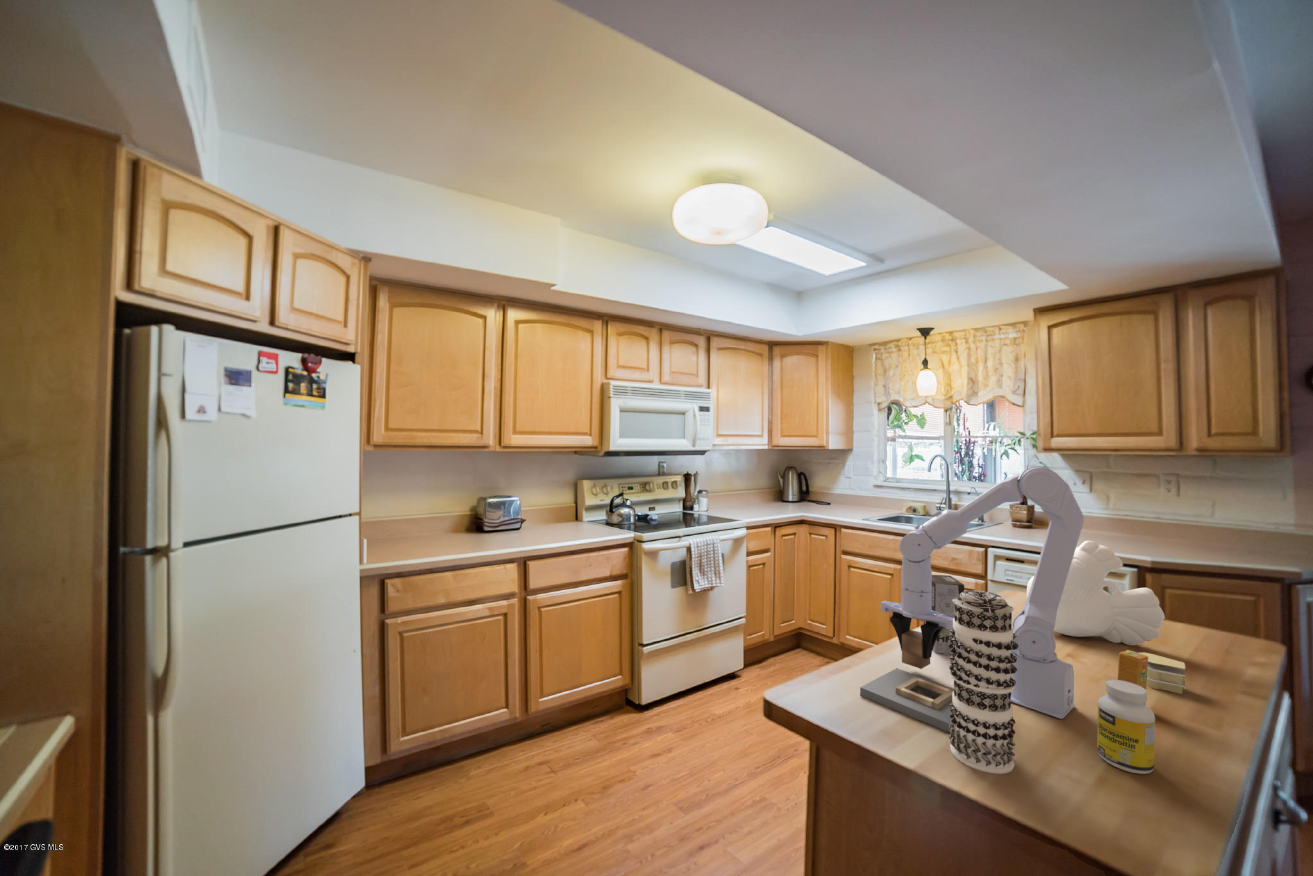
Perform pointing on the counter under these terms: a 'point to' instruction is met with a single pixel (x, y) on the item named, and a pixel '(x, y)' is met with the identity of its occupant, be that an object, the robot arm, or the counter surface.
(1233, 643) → the counter surface
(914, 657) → the walnut block
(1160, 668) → the cream layered block
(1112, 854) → the counter surface
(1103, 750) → the pill bottle
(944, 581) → the coffee box
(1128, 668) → the supplement box
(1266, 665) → the counter surface
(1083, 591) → the decorative rooster
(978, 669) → the decorative candle
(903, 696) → the plate
